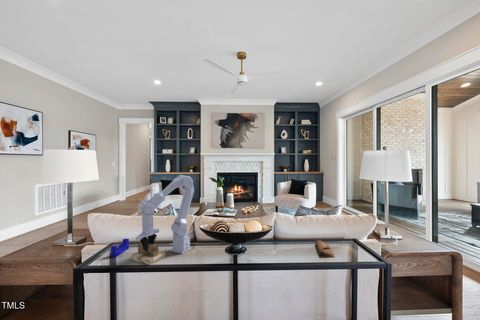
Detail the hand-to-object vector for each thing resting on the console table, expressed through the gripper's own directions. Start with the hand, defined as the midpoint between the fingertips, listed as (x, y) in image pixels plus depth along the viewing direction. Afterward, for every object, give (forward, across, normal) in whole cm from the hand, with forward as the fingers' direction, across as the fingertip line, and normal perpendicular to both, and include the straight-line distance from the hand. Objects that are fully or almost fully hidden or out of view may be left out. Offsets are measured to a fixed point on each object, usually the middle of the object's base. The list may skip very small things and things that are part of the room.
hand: (148, 249), depth 132 cm
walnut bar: (+2, 0, 0) cm, 2 cm away
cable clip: (+5, +2, -21) cm, 22 cm away
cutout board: (+5, 0, 0) cm, 5 cm away
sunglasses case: (+6, -52, +86) cm, 100 cm away
